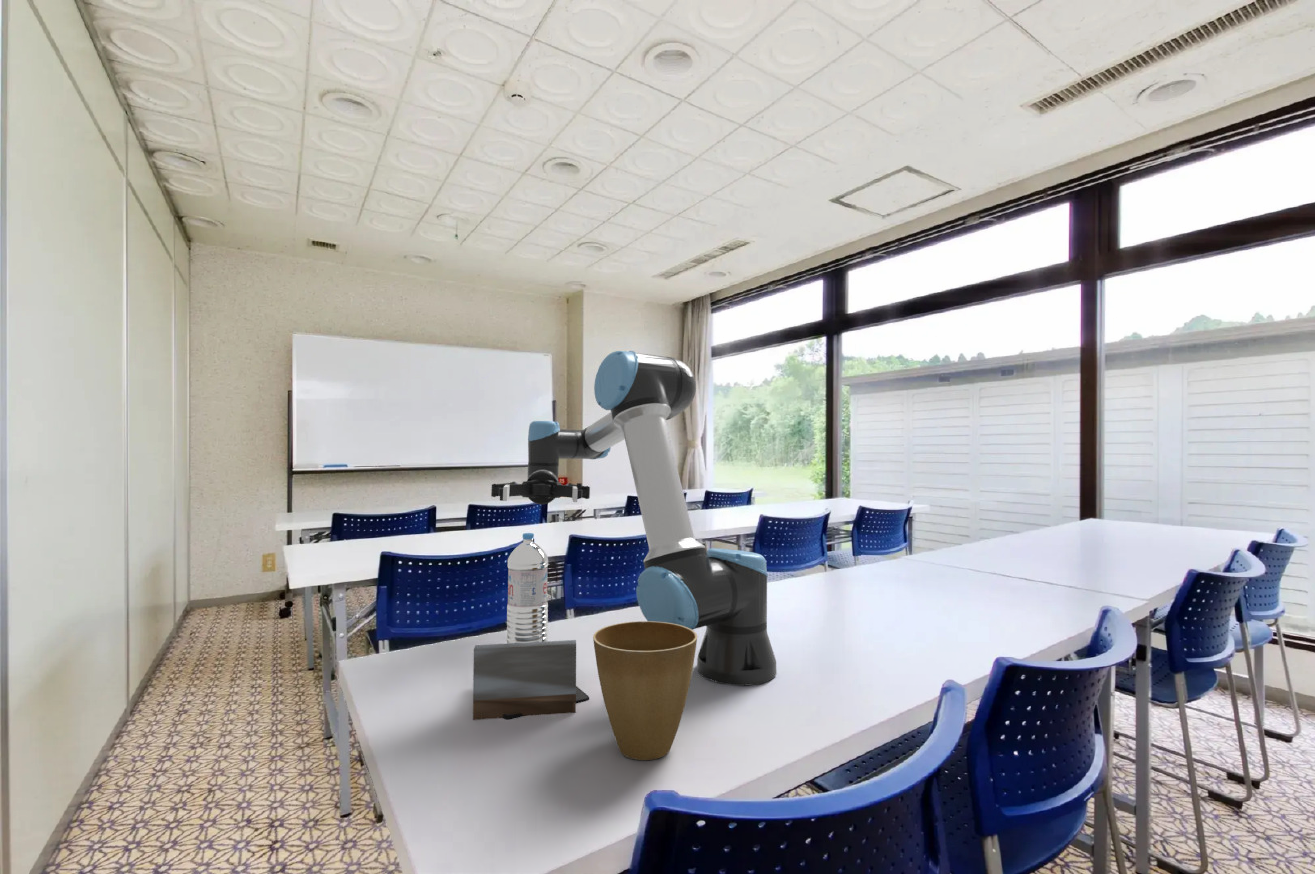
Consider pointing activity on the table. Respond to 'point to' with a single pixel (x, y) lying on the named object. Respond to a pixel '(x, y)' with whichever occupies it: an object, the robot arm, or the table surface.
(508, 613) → the water bottle
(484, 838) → the table surface
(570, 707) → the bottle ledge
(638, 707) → the plant pot
